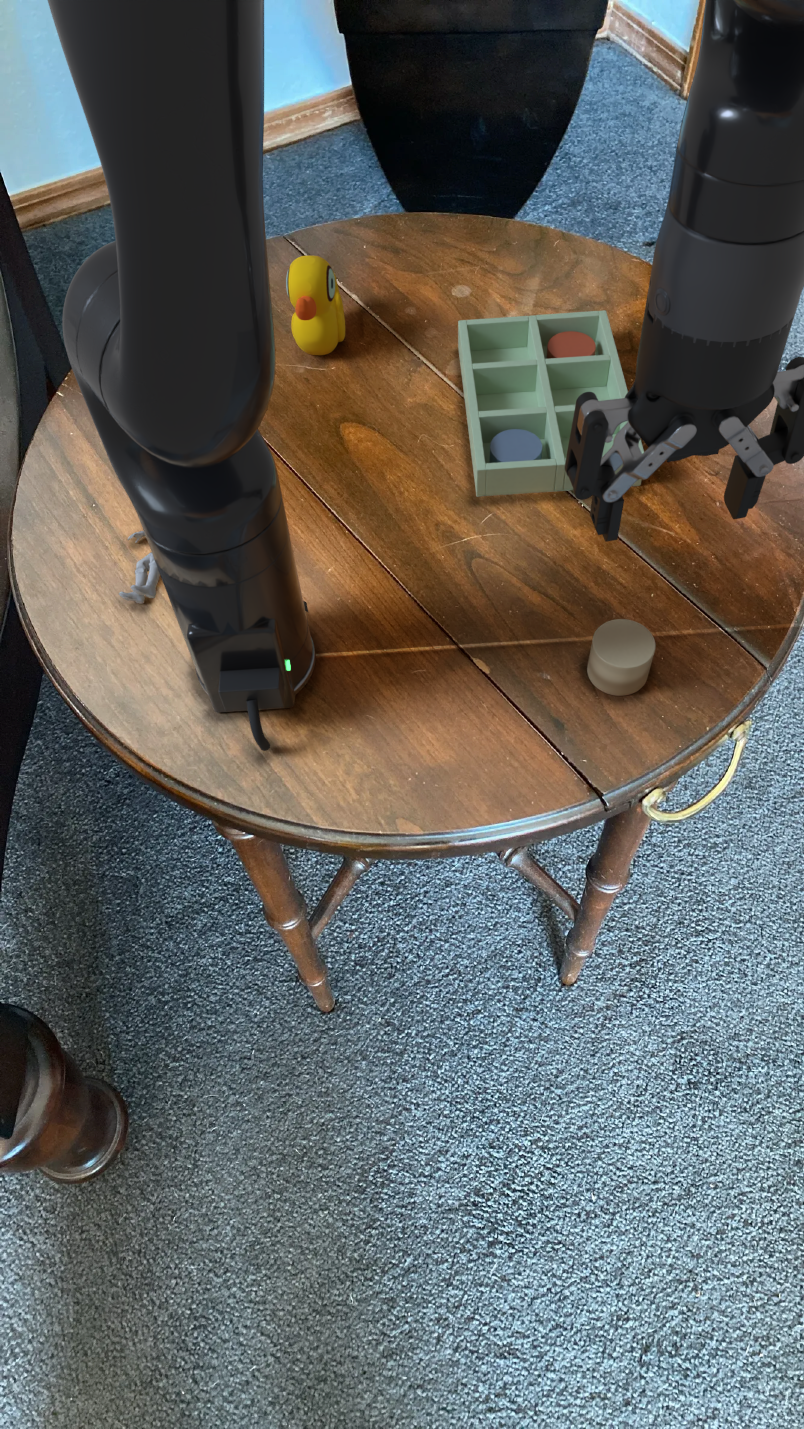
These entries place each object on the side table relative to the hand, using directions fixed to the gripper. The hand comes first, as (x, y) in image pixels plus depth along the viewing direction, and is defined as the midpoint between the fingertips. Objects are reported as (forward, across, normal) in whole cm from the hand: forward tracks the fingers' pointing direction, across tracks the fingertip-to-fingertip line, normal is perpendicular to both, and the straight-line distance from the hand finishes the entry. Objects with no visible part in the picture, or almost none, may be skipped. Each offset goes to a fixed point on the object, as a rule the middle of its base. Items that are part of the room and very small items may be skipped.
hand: (670, 521), depth 63 cm
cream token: (+15, +2, +1) cm, 15 cm away
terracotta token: (+14, -4, -35) cm, 38 cm away
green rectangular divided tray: (+14, 0, -29) cm, 32 cm away
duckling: (+14, +19, -45) cm, 51 cm away
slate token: (+14, +4, -23) cm, 27 cm away
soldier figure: (+14, +36, -19) cm, 43 cm away
